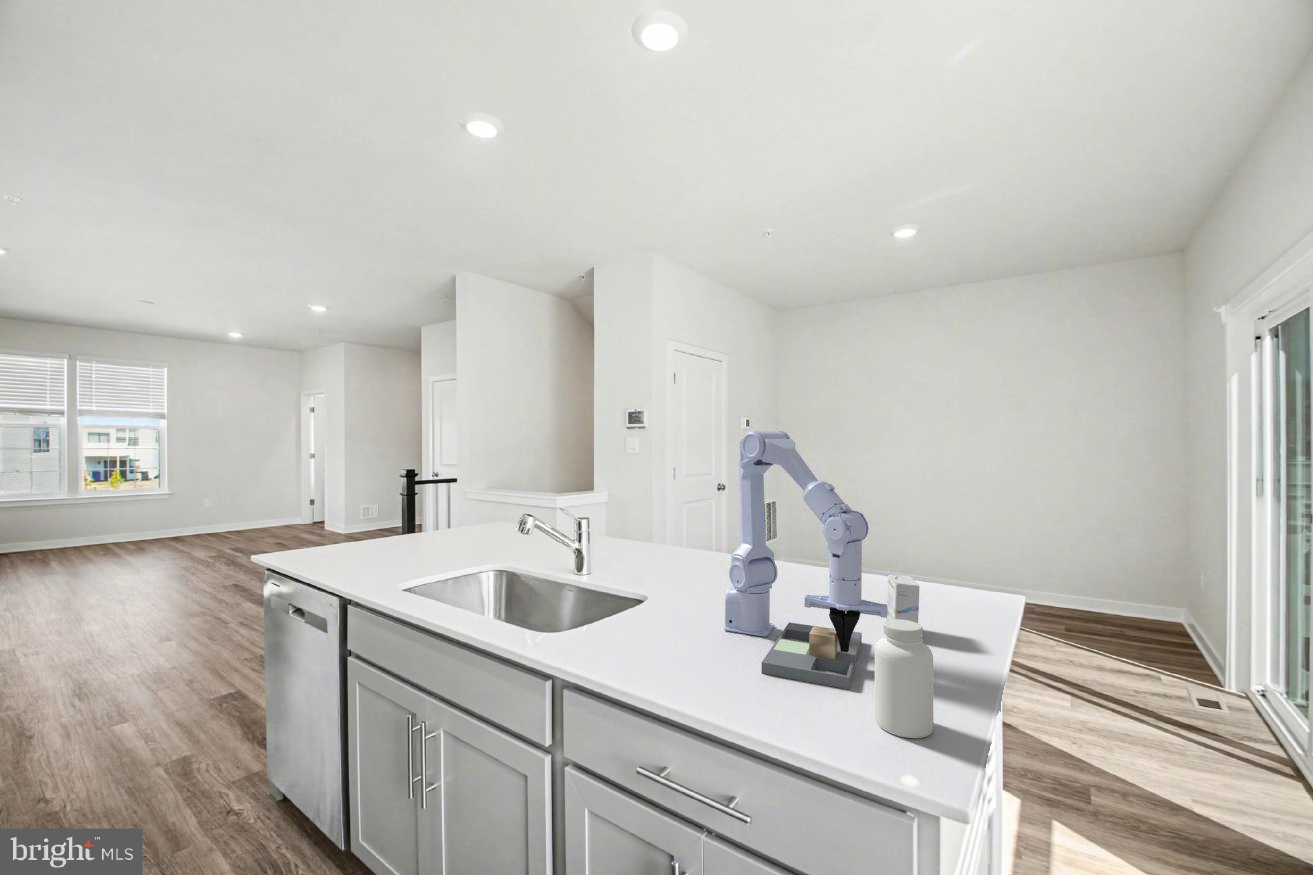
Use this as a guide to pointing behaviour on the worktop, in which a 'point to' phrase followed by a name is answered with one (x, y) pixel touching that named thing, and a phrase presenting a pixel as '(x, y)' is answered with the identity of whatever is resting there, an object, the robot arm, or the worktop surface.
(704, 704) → the worktop surface
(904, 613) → the ink box
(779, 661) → the board
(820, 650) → the block
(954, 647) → the worktop surface
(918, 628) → the pill bottle
